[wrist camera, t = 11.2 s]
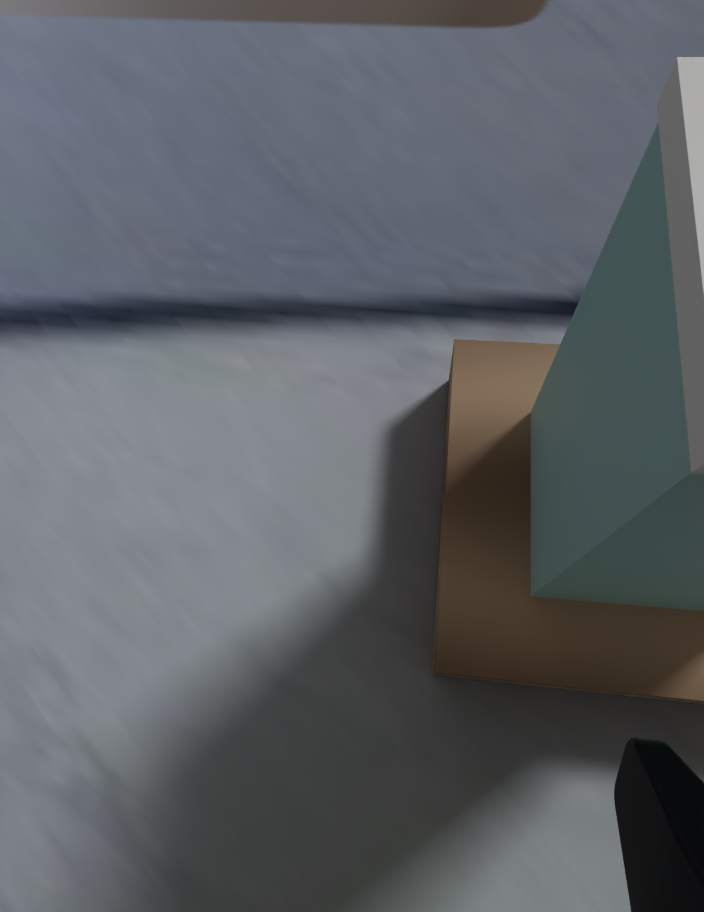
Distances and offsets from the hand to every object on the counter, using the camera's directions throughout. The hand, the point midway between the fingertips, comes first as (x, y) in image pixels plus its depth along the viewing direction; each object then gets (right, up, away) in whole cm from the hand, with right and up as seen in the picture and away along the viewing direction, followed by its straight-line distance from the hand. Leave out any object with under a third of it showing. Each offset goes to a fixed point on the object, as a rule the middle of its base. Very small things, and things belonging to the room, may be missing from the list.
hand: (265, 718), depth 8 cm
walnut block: (+10, +1, +14) cm, 17 cm away
